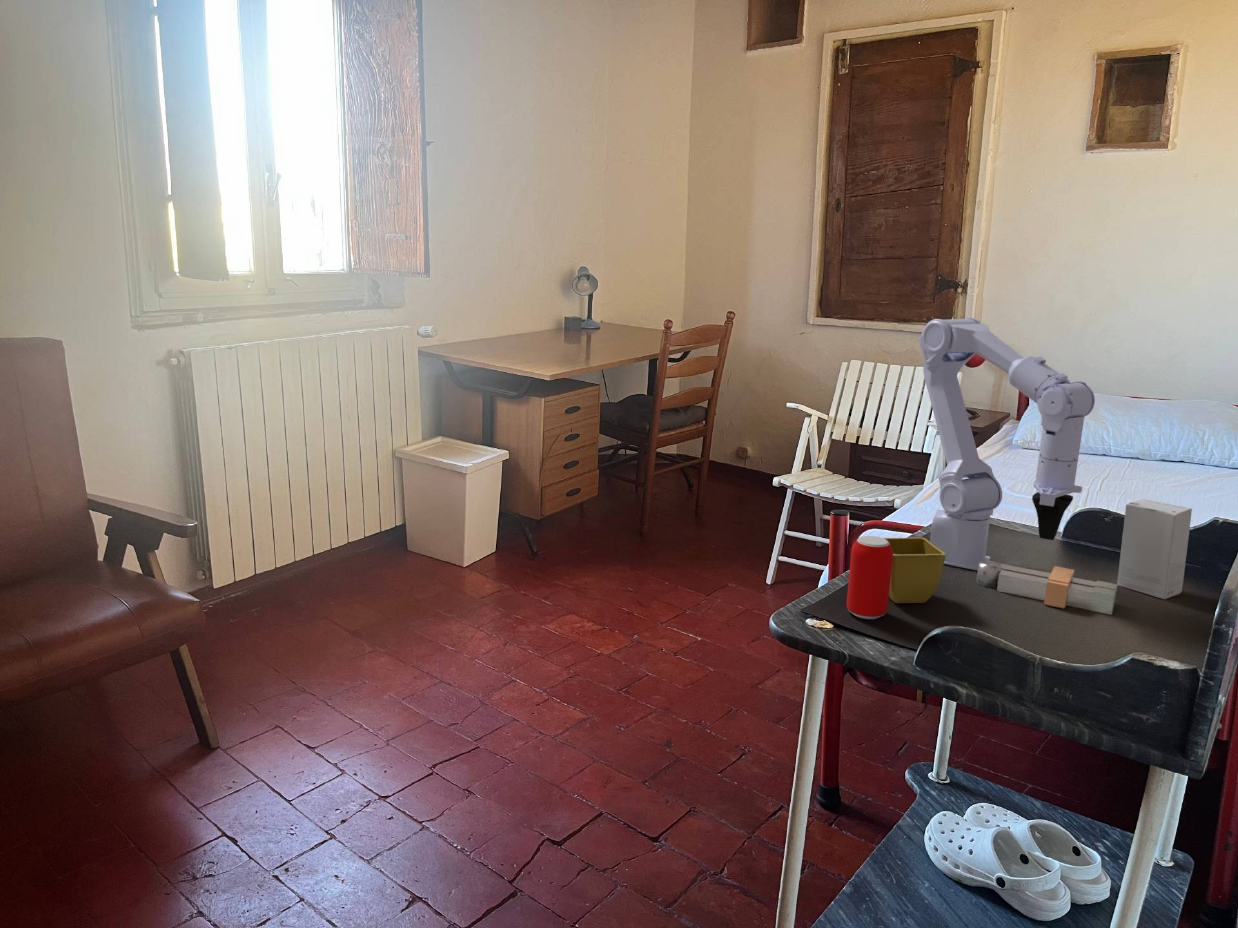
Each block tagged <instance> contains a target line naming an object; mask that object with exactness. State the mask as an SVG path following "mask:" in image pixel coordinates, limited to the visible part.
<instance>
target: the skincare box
mask: <svg viewBox="0 0 1238 928" xmlns="http://www.w3.org/2000/svg"><path fill="white" fill-rule="evenodd" d="M1124 511H1125V513H1124V521H1123V531H1122V538H1121V539H1122V540H1121V547H1120V548H1121V549H1120V556H1119V565H1118V573H1117V583H1116V584H1118V586H1119V587H1122V588H1126V589H1128V590H1132V591H1136V592H1139V593H1141V594H1146V595H1150V596H1152V597H1155V598H1158V599H1162V600H1167V599H1169V598H1171V597H1175V596H1178V595H1180V594H1181V593H1182V590H1183V585H1184V584H1183V583H1184V578H1185V577H1184V576H1185V568H1186V561H1187V560H1186V559H1187V553H1188V546H1189V545H1188V544H1189V539H1190V538H1189V535H1190V529H1191V521H1192V511H1193V508H1192V507H1191V508H1190V507H1185V506H1181V505H1175V504H1169V503H1165V502H1160V501H1155V500H1152V499H1146V498H1140V499H1137V500H1135V501H1132V502H1129V503H1126V504H1125V510H1124Z"/></svg>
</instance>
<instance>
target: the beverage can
mask: <svg viewBox="0 0 1238 928" xmlns="http://www.w3.org/2000/svg"><path fill="white" fill-rule="evenodd" d="M884 538H885V537H880V536H875V535H864V536H860V537H858V538H857V539H856V541H855V542H854V543H853V545H852V547H851V551H850V563H849V564H850V565H849V574H848V583H847V584H848V586H847V598H846V608H847V610H848V612H849V613H851V614H852V615H854V616H855V617H857V618H860V619H864V620H876V619H878V618H881V617H884V616H885V614H886V613H887V612H888V611H889V599H890V597H889V591H890V581H891V571H892V561H893V549H892V547H891V545H890V543H889V542H888V541H887V540H886V539H884Z"/></svg>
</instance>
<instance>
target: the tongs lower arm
mask: <svg viewBox="0 0 1238 928" xmlns="http://www.w3.org/2000/svg"><path fill="white" fill-rule="evenodd" d="M1047 581H1048V579H1046V578H1041V577H1036V576H1031V575H1026V574H1021V573H1015V572H1010V571H1005V570H1001V572H1000V573H999V578H998V586H997V587H996V591H997V592H1001V593H1004V594H1010V595H1014V596H1015V595H1016V596H1020V597H1024V598H1029V599H1032V600H1033V599H1034V600H1038V601H1043V602H1044V600H1045V593H1046V586H1047ZM1115 595H1116V596H1117V593H1116V590H1111V589H1106V588H1101V587H1096V586H1095V588H1093V587H1088V586H1082V585H1077V584H1072V583H1070V584H1069V589H1068V595H1067V602H1066V607H1067V606H1069V607H1072V608H1078V609H1083V610H1088V611H1090V612H1095V613H1100V614H1105V615H1109V616H1112V614H1113V611H1114V608H1113V607H1115V605H1114V601H1115V602H1116V600H1115Z"/></svg>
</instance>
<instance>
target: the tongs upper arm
mask: <svg viewBox="0 0 1238 928" xmlns="http://www.w3.org/2000/svg"><path fill="white" fill-rule="evenodd" d="M1001 570H1005V571H1010V572H1015V573H1021V574H1026V575H1031V576H1036V577H1041V578H1046V579H1048V578H1049V576H1050V574H1051V572H1046V571H1041V570H1036V569H1032V568H1031V569H1030V568H1026V567H1020V566H1015V565H1009V564H1005V563H1000V562H998V561H993V560H982V561H979V564H978V570H977V573H976V574H977V575H976V584H977V585H979V586H982V587H985V588H997V586H998V578H999V573H1000V572H1001ZM1070 583H1072V584H1077V585H1082V586H1088V587H1093V588H1095V586H1096V587H1101V588H1106V589H1111V590H1116V595H1115V601H1114V607H1115V604H1116V598H1117V592H1118V584H1117V583H1112V582H1107V581H1101V580H1096V581H1094V580H1090V579H1089V580H1088V579H1084V578H1078V577H1074V576H1073V577H1072V580H1071V582H1070ZM1114 607H1113V609H1114Z"/></svg>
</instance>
